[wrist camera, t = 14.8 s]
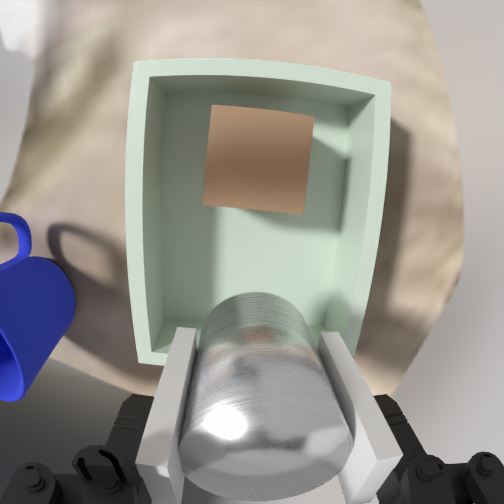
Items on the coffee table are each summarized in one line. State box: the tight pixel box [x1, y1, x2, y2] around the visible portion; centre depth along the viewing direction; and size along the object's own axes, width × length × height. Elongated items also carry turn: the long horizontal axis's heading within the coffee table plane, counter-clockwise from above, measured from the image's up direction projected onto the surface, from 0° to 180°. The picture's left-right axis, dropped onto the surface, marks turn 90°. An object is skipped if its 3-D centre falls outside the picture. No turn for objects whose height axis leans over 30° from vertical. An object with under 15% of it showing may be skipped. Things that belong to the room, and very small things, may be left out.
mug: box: [0, 212, 75, 402], centre depth 16 cm, size 8×12×10 cm
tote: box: [125, 58, 391, 366], centre depth 18 cm, size 18×14×5 cm
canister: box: [178, 292, 353, 501], centre depth 10 cm, size 5×5×7 cm
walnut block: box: [202, 105, 314, 215], centre depth 17 cm, size 5×5×5 cm
